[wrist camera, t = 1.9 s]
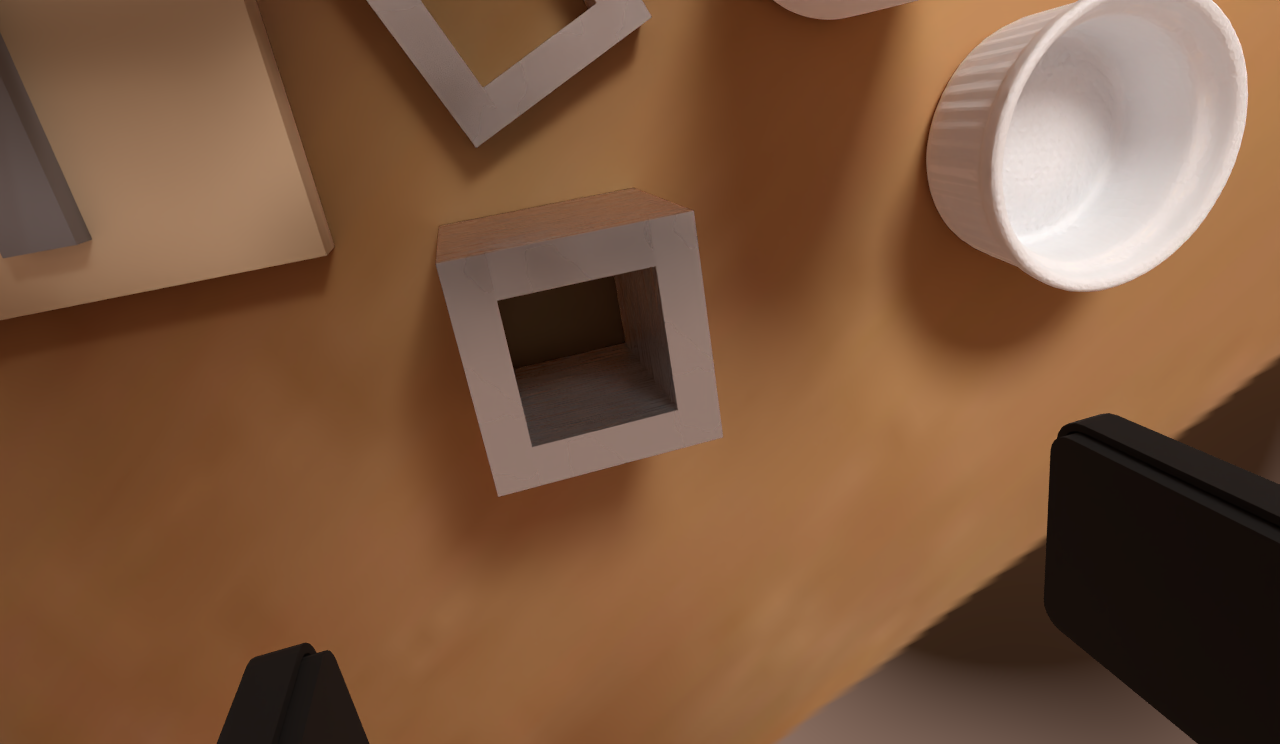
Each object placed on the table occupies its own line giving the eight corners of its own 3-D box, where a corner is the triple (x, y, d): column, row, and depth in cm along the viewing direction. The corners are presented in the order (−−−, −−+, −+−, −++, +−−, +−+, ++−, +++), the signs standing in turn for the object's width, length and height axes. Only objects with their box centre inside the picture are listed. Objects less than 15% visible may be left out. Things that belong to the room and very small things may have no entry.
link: (439, 225, 21) (435, 263, 16) (633, 187, 22) (693, 210, 17) (487, 407, 23) (498, 496, 18) (661, 365, 24) (723, 437, 19)
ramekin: (959, 312, 27) (1047, 346, 23) (867, 97, 23) (953, 92, 19) (1150, 178, 27) (1271, 189, 23) (1089, -56, 23) (1219, -91, 19)
